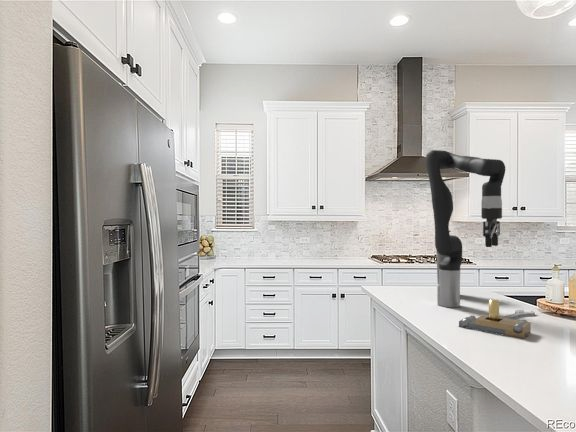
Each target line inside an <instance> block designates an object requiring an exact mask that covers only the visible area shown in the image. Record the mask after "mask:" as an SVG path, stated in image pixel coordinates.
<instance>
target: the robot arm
mask: <svg viewBox="0 0 576 432" xmlns="http://www.w3.org/2000/svg"><path fill="white" fill-rule="evenodd" d="M503 161H504V160H501V159H494V158H492V159H491V158H481V157H478V156H477V157H476V156H470V155H458V154H456V153H452V152H450V151H446V150H437V149H433V150H429V151H427V153H426V156H425V168H426V172H427V175H428V180H429V186H430V187H429V188H430V193H431V203H432V205H431V206H432V209H433V210H432V211H433V223H434V246H435V250H436V253H437V252H438V253H439V254H440V255H443V256H445V258H444V260H443V261H442V262H440V264H439V285H438V284H437V287H436V288H437V290H436V291H437V301H436V302H437V303H436V304H437V305H438V306H441V307H444V308H459V307H461V265H462V264H463V263H462V262H463V242H462V241H461V239H460V238H459V237H458V236H456V235H453V236H450V235H451V234H450V232H449V231H450V227H449V226H450V220H451V218H452V214H453V211H454V201H453V195H452V192H451V190H450V188H449V187H448V186H447V183H446V182H445V181H444V180H443V177H442V174H441V170H445V169H456V170H459V171H461V172H465V173H469V174H474V175H478V176H482V177H489V179H488V181H486V182H484V183H483V184H482V187H481V204H480V205H481V219H482V220H483V219H485V221H483V224H482V226H483V227H482V230H483V231H482V236H483V238H485V243H484V245H485V247H486V248H491V247H497V246H499V237H500V235H501V228H500V227H501V225H500V224H501V221H500V220H501V219H502V218H503V199H502V185H503V182H504V177H505V174H506V164H505V163H504V162H503ZM498 220H499V221H498ZM449 234H450V235H449Z"/></svg>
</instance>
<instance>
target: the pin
mask: <svg viewBox="0 0 576 432" xmlns="http://www.w3.org/2000/svg"><path fill="white" fill-rule="evenodd" d="M488 315H489V320H492V321H498V322H499V317H500V300H499V299H491V298H490V299H488Z"/></svg>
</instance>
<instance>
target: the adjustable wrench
mask: <svg viewBox="0 0 576 432" xmlns="http://www.w3.org/2000/svg"><path fill="white" fill-rule="evenodd" d="M514 311H515V312H514V313H511V314H507V315H502V316H501V317H502V318H508V319H514V318H515V319H519V318H523V317H534V316H535V315H536V313H535V311H534V310H530V311H525V310H524V309H518V310H514ZM522 316H523V317H522ZM518 317H519V318H518ZM515 319H514V320H515Z"/></svg>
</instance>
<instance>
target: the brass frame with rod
mask: <svg viewBox="0 0 576 432" xmlns="http://www.w3.org/2000/svg"><path fill="white" fill-rule="evenodd" d="M458 327H459V328H460V327H461V328H464V329H465V328H466V329H471V330H475V329H476V330H477V331H480V330H482V331H481V332H485V331H487V332H486V333H491V332H492V333H491V334H496V333H497V335H501V334H503V335H502V336H506V335H507V336H508V337H511V336H512V337H513V338H518V339H524V340H525V339H526V338H527V337H528V336H529V335H531V332H532V331H531V328H532V327H531V322H530V321H528V320H527V319H522V320H519V319H508V318H502V316H499V322H498V321H492V320H489V314H481V315H480V316H478V317H476V316H475V315H470V316H466V317H465V318H464V317H463V319H460V320H459V321H458ZM507 336H506V337H507Z"/></svg>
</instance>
